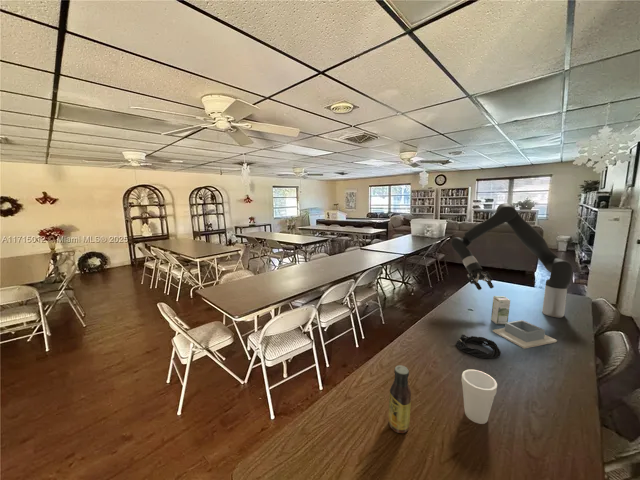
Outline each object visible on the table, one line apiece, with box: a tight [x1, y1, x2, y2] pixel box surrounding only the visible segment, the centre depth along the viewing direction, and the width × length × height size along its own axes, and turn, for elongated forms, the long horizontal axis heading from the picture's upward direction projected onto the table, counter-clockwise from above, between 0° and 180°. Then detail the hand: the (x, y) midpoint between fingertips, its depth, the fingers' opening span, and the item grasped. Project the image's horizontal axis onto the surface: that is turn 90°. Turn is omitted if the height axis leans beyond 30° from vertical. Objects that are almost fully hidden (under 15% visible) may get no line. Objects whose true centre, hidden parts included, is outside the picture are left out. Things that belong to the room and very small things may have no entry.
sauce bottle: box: [388, 364, 412, 434], centre depth 78 cm, size 7×6×20 cm
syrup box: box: [490, 295, 511, 326], centre depth 141 cm, size 6×6×14 cm
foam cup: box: [461, 369, 498, 425], centre depth 82 cm, size 10×9×13 cm
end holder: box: [492, 319, 558, 350], centre depth 127 cm, size 20×16×6 cm
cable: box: [455, 334, 502, 359], centre depth 117 cm, size 17×14×4 cm
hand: (486, 288), depth 149 cm, fingers open, 8 cm apart
